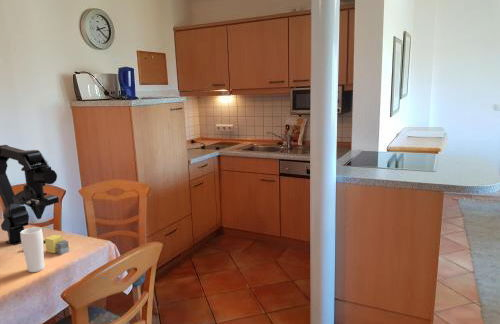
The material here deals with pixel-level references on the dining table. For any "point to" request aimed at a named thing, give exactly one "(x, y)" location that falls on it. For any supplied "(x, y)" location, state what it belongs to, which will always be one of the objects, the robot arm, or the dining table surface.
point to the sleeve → (52, 243)
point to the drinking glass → (33, 248)
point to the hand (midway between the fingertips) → (39, 218)
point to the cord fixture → (61, 247)
